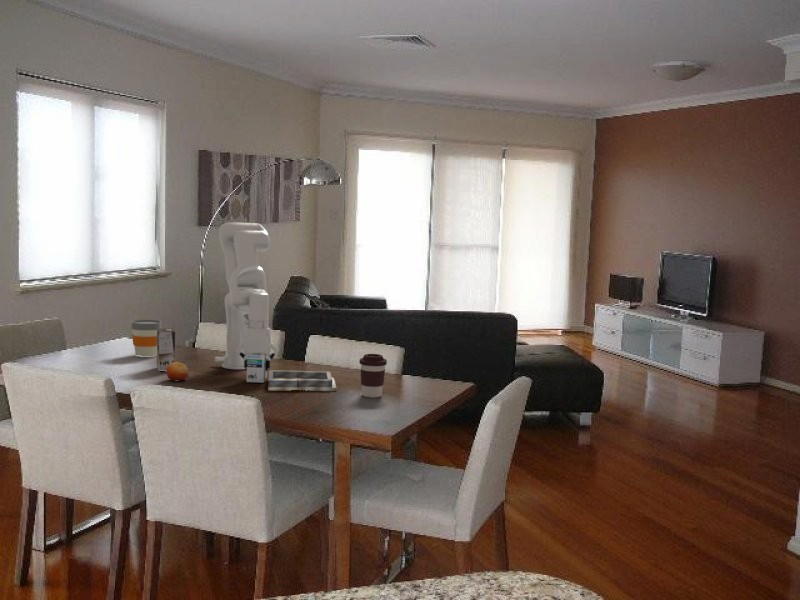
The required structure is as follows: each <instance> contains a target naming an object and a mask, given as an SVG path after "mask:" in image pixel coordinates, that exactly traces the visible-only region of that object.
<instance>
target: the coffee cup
mask: <svg viewBox="0 0 800 600" xmlns="http://www.w3.org/2000/svg"><path fill="white" fill-rule="evenodd" d="M387 364H388V360H387V358H384V356H383V355H382V354H378V353H367V354H364V355H363V357H361V358H359V365H360V385H361V396H362V397H365V398H370V399H371V398H372V399H373V398H380V397H382V394H383V387H384V383H385V373H386V369H385V368H386V367H385V366H387Z"/></svg>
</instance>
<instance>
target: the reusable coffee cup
mask: <svg viewBox="0 0 800 600" xmlns="http://www.w3.org/2000/svg"><path fill="white" fill-rule="evenodd" d="M157 329H163V326H162V321H161V320H156V319H138V320H132V321H131V330H132V334H131V338H132V344H133V346H134V353H135V356H136V355H141V356H153V355H157Z"/></svg>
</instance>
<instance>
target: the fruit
mask: <svg viewBox="0 0 800 600" xmlns="http://www.w3.org/2000/svg"><path fill="white" fill-rule="evenodd" d="M166 376H167V379H168V378H169V379H168V380H170V379H171V380H170V381H172V380H181V381H184V380H186V379H187V378H188V376H189V369H188V367H187V365H185V364H184V363H182V362H179V361H175V362H173V363H171V364H169V366H168V367H167V371H166ZM183 379H184V380H183Z"/></svg>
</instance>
